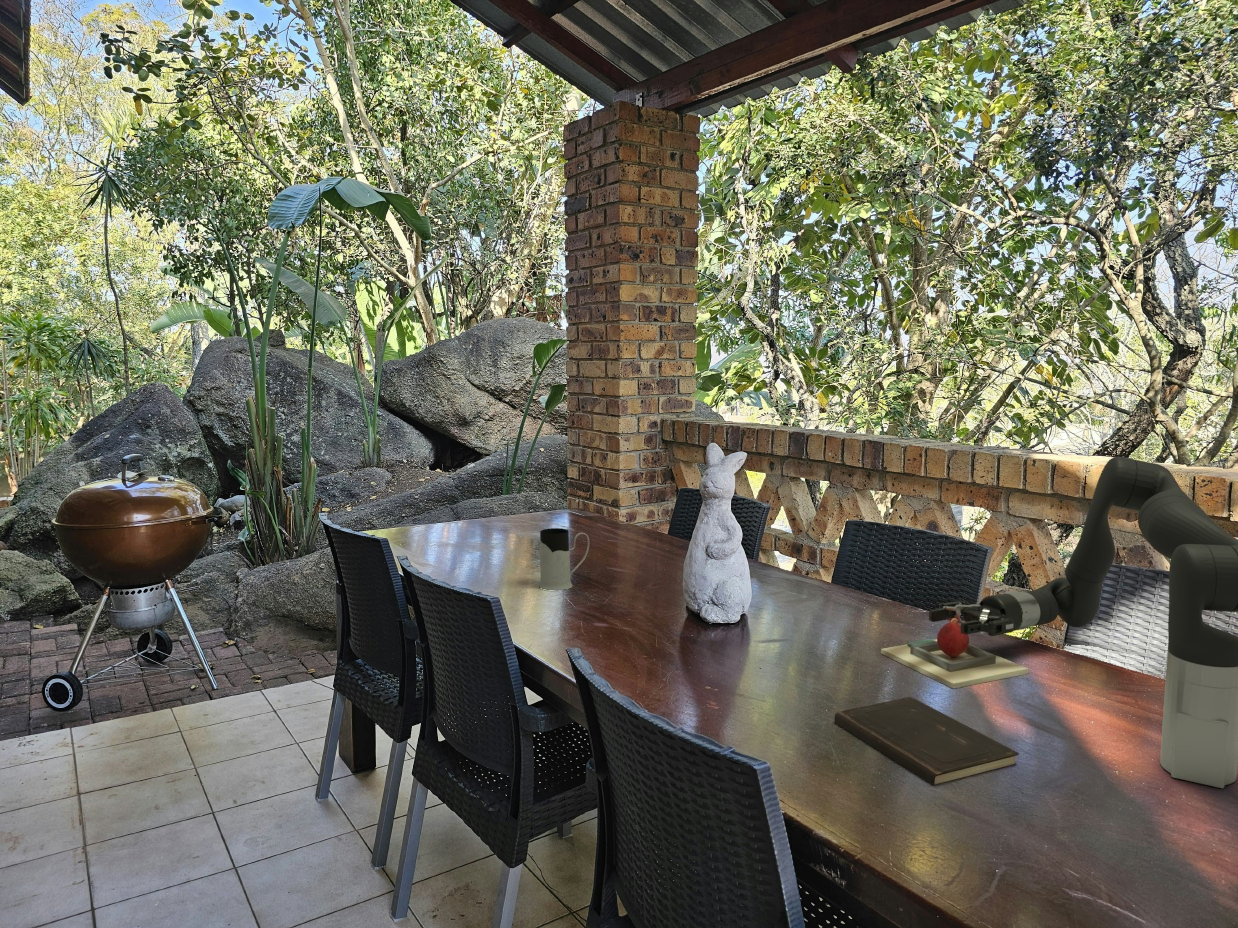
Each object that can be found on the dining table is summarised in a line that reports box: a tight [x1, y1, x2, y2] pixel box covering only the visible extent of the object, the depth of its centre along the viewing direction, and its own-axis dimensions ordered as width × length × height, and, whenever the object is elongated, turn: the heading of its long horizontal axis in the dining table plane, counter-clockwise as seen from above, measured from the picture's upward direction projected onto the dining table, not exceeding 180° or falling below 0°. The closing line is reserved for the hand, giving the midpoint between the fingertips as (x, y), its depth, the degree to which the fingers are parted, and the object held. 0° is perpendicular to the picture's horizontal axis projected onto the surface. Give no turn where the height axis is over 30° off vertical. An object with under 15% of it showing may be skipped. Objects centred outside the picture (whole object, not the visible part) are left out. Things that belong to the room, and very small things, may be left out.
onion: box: [936, 619, 970, 658], centre depth 167 cm, size 6×6×8 cm
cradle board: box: [880, 638, 1029, 689], centre depth 168 cm, size 20×18×2 cm
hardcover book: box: [833, 696, 1020, 787], centre depth 134 cm, size 16×23×2 cm
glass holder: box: [539, 527, 590, 591], centre depth 227 cm, size 9×14×15 cm, turn 115°
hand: (945, 622), depth 166 cm, fingers open, 8 cm apart
